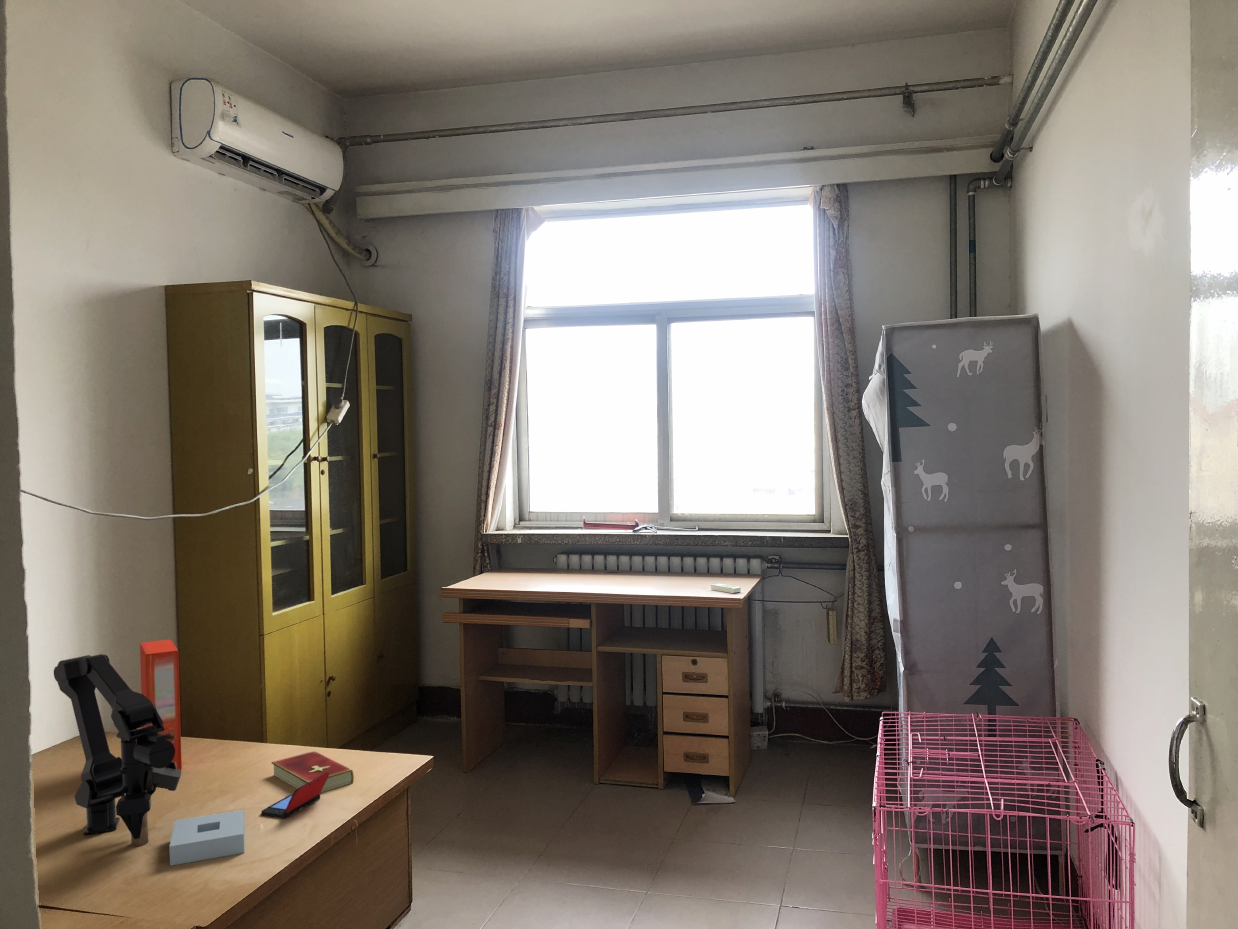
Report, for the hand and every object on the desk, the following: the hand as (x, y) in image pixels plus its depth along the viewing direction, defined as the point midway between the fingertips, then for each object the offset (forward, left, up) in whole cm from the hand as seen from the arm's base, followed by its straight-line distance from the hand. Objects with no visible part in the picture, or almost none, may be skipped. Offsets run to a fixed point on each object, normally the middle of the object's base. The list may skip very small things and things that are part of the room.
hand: (139, 831), depth 198 cm
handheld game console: (-6, +32, -3) cm, 33 cm away
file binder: (-54, 0, -3) cm, 54 cm away
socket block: (+8, +14, -3) cm, 16 cm away
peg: (0, 0, -3) cm, 3 cm away
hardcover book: (-24, +37, -3) cm, 44 cm away
